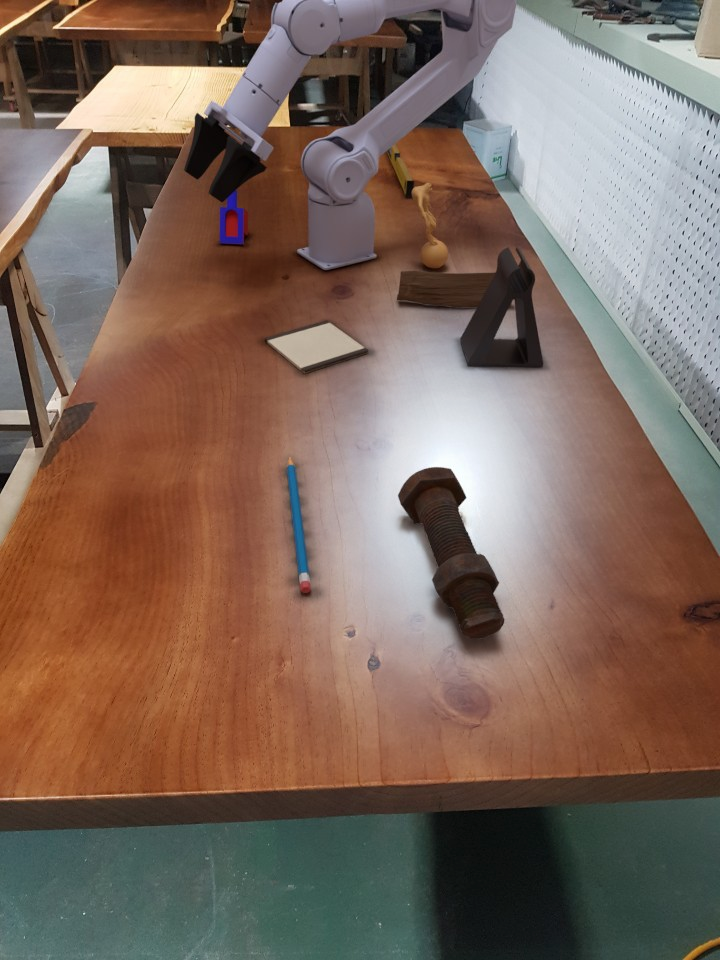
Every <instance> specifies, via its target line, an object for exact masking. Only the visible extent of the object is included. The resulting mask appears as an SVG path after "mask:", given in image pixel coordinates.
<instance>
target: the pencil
mask: <svg viewBox="0 0 720 960" xmlns="http://www.w3.org/2000/svg"><path fill="white" fill-rule="evenodd" d="M286 464H287V465H286V474H287V482H288V483H287V484H288V489H289V490H288V491H289V493H288V494H289V501H290V509H291V519H292V526H293V536H294V544H295V552H296V553H295V554H296V561H297V571H298V572H297V573H298V580H299V589H300V592H302V594H308V593H309V592H311V590H312V587H311V579H310V571H309V563H308V556H307V555H308V554H307V547H306V540H305V532H304V525H303V517H302V509H301V501H300V494H299V493H300V491H299V487H298V486H299V485H298V477H297V470H296V466H295V463H294V462H293V459H292V458H291V456H289V457H288V460H287V463H286Z"/></svg>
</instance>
